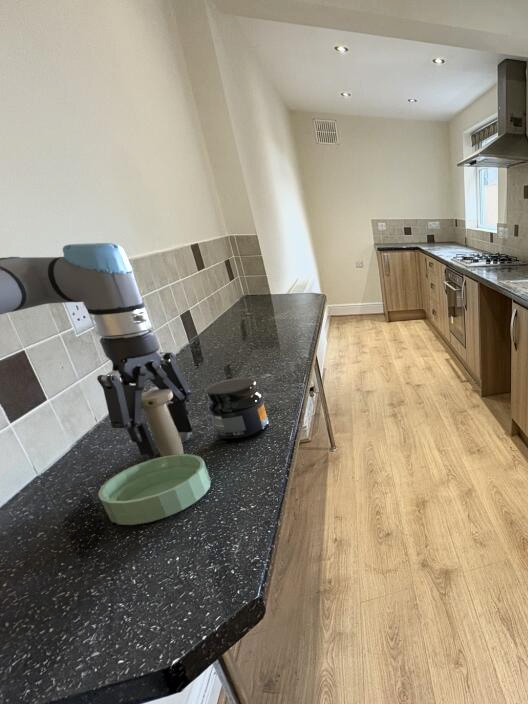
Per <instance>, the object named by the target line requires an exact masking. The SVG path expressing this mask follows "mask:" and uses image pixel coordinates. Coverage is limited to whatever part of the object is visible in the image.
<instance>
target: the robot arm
mask: <svg viewBox="0 0 528 704" xmlns="http://www.w3.org/2000/svg"><path fill="white" fill-rule="evenodd" d="M62 252H63V256H51V257H47V256H46V257H45V256H44V257H43V256H42V257H39V256H38V257H37V256H35V257H34V256H33V257H32V256H31V257H30V256H29V257H28V256H27V257H22V256H21V257H20V256H7V257H0V315H5V314H8V313H13V312H17V311H22V310H26V309H30V308H35V307H38V306H44V305H51V304H64V303H65V304H66V303H83V305H84V307H85V309H86V311H87V313H88V315H89V318H90V321H91V323H92V326H93V329H94V330H95V334H96V336H99V337H100V339H99V343H100V345H101V347H102V350H103V352H104V356H105V357H106V358H107V359H109V360H110V362H111V363H112V368H111V369H112V370H111V371H110V372H108V373H106V374H99V375H97V377H96V380H97V381H98V384H100V386H101V388H102V389H103V394H104V398H105V399H104V400H105V403H106V408H107V413H108V415H109V417H108V418H109V422H110V426H111V428H113V429H126V431H127V433H128V435H129V438H130V440H131V442H132V443H135V444H136V446H137V448H138V451H139V453H140V455H141V456H156V455H157V454H158V453H159V451H158V449H157V447H156V444H155V442H154V439H153V436H152V434H151V431H150V430H149V426H148V425H147V423H146V422H142V408H141V402H142V393H143V390H144V389H145V387H146V385H145V384H146V383H147V382H148V381H149V382H151V383H152V384H153V385H154V387H157V388H158V389H159V390H160V389H170V390H171V391H172V394H173V398H172V399H171V400H170V401H171V402H173V403H169V404H168V408H169V410H170V413H171V416H172V419H173V421H174V424H175V426H176V428H177V431H178V432H189V433H190V432H193V428H192V425H191V422H190V420H189V416H188V415H189V410H188V408H187V405H186V403H188V402H189V401H190V397H189V396H191V395H192V391H191V388H190V387H189V384H188V383H187V380H186V379H185V377H184V376H183V374H182V371H181V369H180V368H179V366H178V364H177V360H176V355H175V352H162V351H160V352H158V351H159V350H160V346H159V341H158V340H157V337H156V334H155V332H154V331H153V330H152V326H153V325H152V324H151V321H150V318H149V315H148V312H147V309H146V306H145V305H144V304H145V303H144V302H143V299H142V296H141V292H140V289H139V288H138V287H139V286H138V284H137V281H136V278H135V274H134V269H133V267H132V265H131V263H130V261H129V258H128V257H127V254H126V252H125V250H124V248H123V247H122V246H121V245H119V244H117V243H112V242H95V243H90V242H89V243H88V242H87V243H72V244H71V243H70V244H65V245H64V246H62ZM190 434H191V433H190Z"/></svg>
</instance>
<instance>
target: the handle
mask: <svg viewBox="0 0 528 704" xmlns="http://www.w3.org/2000/svg"><path fill="white" fill-rule="evenodd" d="M172 398H173V394H172V391H171V390H170V389H160V390H153V391H148V390H147V391H144V392H143V391H142V402H141V410H143V412H144V413H145V416H146V419H147V423H148V427H149V429H150V434H151V437H152V440H153V442H154V445H155V447H156V449H157V452H158V453H159V455H161V457H164V456H169V455H177V454H185V451H184V445H183V443H182V442H181V438H180V436H179V433H178V431H177V428H176V426H175V424H174V422H173V420H172V418H171V416H170V413H169V411H168V409H167V405H166V403H167V402H168V401H170V400H171V399H172Z"/></svg>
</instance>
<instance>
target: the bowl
mask: <svg viewBox="0 0 528 704" xmlns="http://www.w3.org/2000/svg"><path fill="white" fill-rule="evenodd" d="M211 482H212V480H211V477H210V474H209V472H208V469H207V466H206V462H205V461H204V459H203V458H202V457H201V456H199V455H195V454H190V453H189V454H188V453H184V454H177V455H169V456H164V457H162V456H160V457H156V458H152V459H149V460H146V461H143V462H140V463H137V464H135V465H133V466H130V467H128V468H126V469H124V470H122V471H120V472H118V473H117V474H115V475H114V476H112V477H110V478H109V479H108V480H107V481H105V482H104V483H103V485H101V487H100V489H99V490H98V493H97V496H98V498H99V499H100V502H101V504H102V506H103V508H104V510H105V513H106V514H107V516H108V518H109V520H110V522H112V523H115V524H116V525H124V526H134V525H142V524H146V523H151V522H155V521H159V520H162V519H165V518H168V517H170V516H172V515H175V514H177V513H179V512H181V511H184V510H185V509H187V508H188V507H191V506H193V505H194V504H195V503H197V502H198V501H199V500H200V499H202V498H203V497H204V496H205V495H206V494H207V492H208V491H209V489H210V488H211V486H212V485H211Z"/></svg>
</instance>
